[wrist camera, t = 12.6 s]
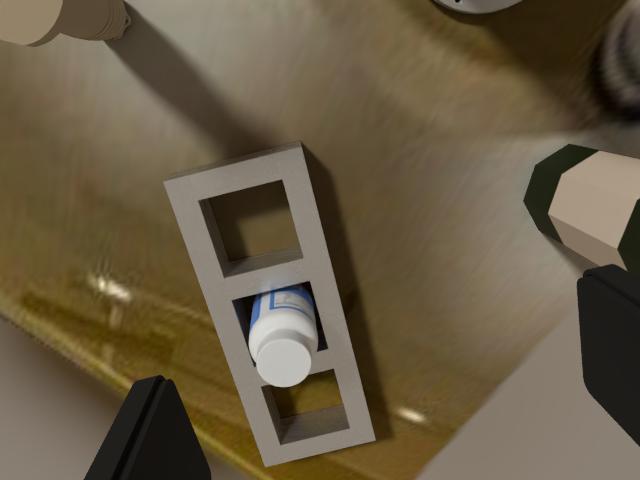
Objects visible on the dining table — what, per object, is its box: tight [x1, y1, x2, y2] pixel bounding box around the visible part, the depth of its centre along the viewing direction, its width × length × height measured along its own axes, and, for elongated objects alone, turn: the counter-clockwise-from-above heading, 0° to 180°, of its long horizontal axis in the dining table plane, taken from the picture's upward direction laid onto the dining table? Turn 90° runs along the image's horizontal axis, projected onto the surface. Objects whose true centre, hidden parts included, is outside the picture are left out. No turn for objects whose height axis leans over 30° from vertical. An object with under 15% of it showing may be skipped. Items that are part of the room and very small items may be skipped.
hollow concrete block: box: [164, 141, 376, 467], centre depth 41 cm, size 28×11×4 cm, turn 14°
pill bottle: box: [249, 283, 318, 387], centre depth 39 cm, size 6×5×10 cm
